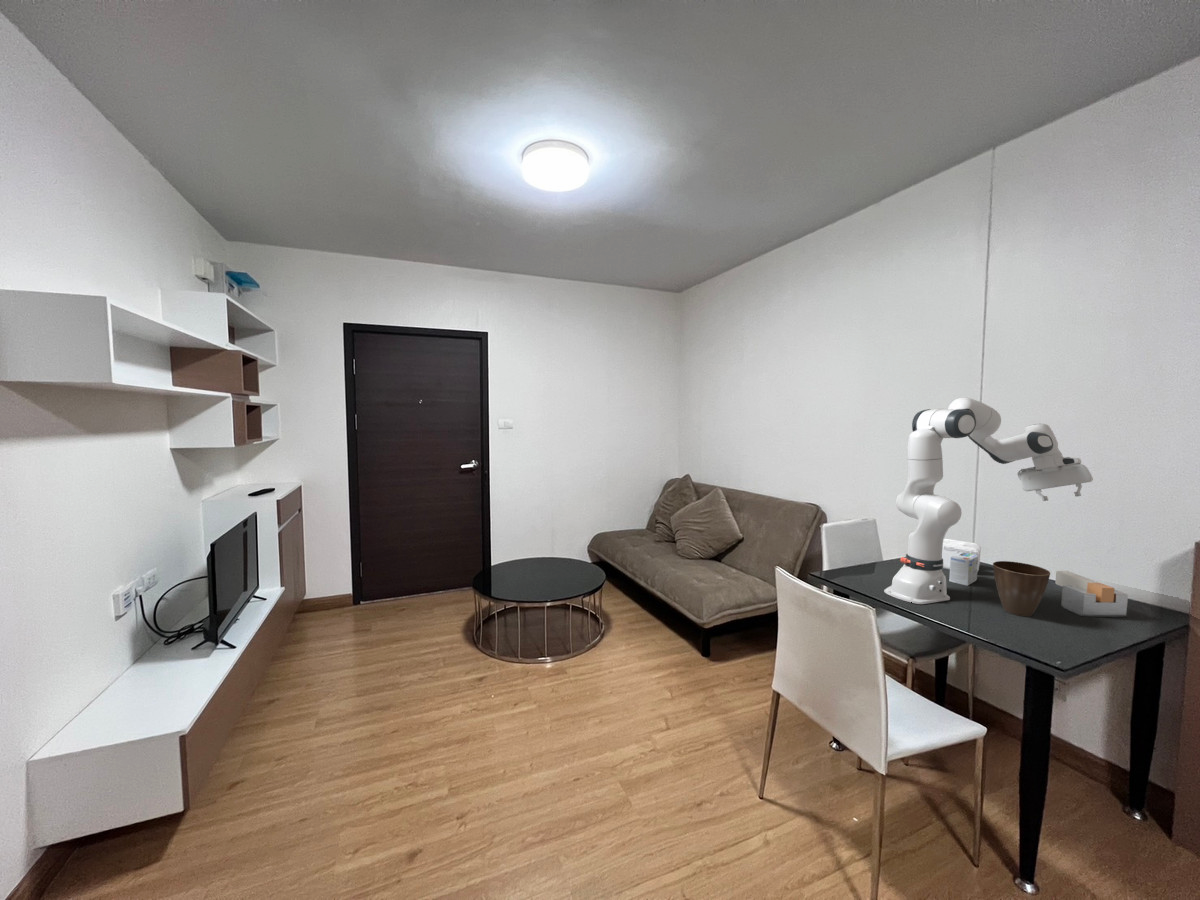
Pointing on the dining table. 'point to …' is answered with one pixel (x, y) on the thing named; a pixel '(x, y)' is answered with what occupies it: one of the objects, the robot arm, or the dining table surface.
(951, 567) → the light bulb box
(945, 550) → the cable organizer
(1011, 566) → the plant pot
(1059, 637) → the dining table surface
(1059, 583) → the plug
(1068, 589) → the housing
